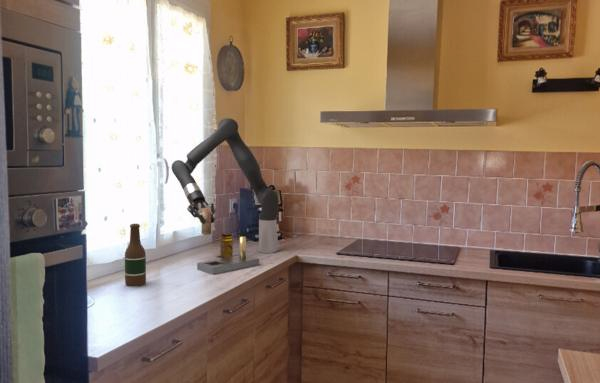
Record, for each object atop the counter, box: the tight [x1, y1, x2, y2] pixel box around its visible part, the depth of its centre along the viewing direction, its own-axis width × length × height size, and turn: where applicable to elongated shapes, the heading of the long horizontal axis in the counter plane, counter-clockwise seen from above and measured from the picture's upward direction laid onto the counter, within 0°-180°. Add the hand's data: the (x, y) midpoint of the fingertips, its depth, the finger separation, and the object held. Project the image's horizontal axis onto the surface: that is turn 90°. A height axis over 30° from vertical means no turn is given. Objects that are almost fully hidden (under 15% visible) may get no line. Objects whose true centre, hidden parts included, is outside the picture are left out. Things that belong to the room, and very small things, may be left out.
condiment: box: [213, 232, 234, 259], centre depth 236 cm, size 7×8×12 cm
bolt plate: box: [196, 236, 260, 275], centre depth 215 cm, size 26×12×13 cm, turn 136°
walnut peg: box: [201, 208, 212, 236], centre depth 220 cm, size 4×4×12 cm
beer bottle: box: [124, 223, 147, 287], centre depth 185 cm, size 8×8×24 cm
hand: (208, 222), depth 219 cm, fingers closed on walnut peg, 4 cm apart
